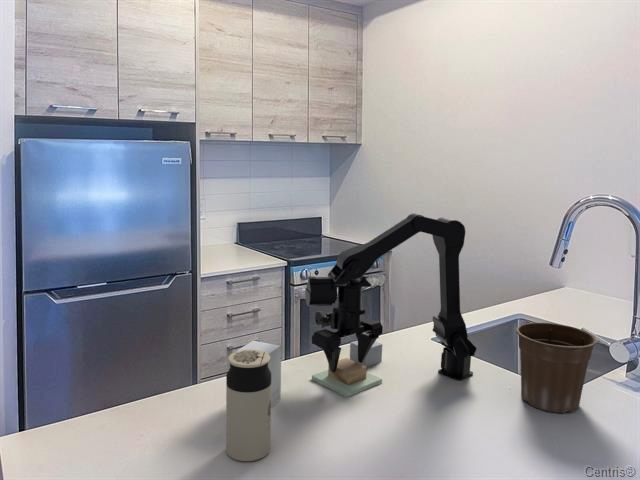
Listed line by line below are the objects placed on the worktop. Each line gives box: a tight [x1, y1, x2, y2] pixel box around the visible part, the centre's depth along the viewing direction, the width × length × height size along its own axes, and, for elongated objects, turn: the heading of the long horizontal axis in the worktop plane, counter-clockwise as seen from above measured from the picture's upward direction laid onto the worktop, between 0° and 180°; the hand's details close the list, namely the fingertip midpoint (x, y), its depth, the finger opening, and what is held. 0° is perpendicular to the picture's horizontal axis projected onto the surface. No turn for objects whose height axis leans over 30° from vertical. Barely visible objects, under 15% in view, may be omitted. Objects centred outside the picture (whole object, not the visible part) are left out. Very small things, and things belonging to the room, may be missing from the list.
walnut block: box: [327, 357, 368, 385], centre depth 124 cm, size 7×6×3 cm
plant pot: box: [516, 322, 598, 414], centre depth 116 cm, size 16×16×16 cm
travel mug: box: [225, 350, 272, 462], centre depth 93 cm, size 8×8×18 cm
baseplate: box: [311, 369, 383, 398], centre depth 125 cm, size 12×12×1 cm
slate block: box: [349, 339, 383, 367], centre depth 137 cm, size 6×6×5 cm
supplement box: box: [235, 340, 282, 408], centre depth 111 cm, size 7×7×13 cm
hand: (347, 367), depth 124 cm, fingers open, 9 cm apart
